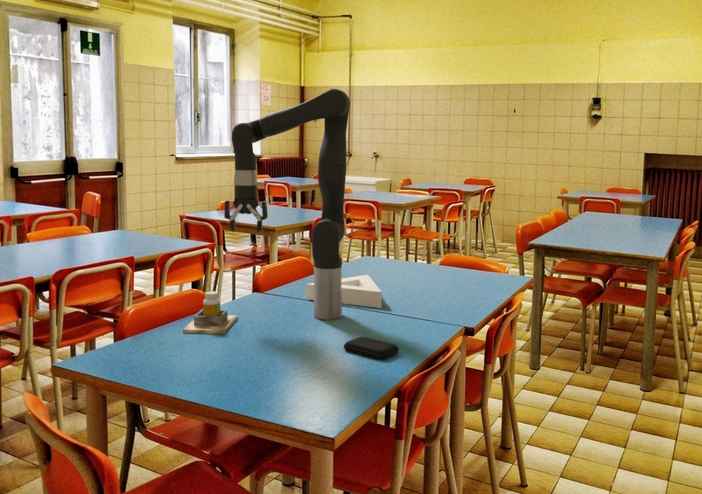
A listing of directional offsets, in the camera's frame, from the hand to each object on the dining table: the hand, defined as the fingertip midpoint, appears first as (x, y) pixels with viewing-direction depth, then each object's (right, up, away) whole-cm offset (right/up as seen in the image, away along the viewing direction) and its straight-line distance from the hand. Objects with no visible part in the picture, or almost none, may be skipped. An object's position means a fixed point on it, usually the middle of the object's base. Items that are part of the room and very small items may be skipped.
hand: (246, 231), depth 233 cm
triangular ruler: (+37, -25, +31) cm, 54 cm away
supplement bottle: (-9, -30, -12) cm, 33 cm away
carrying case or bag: (+41, -36, -35) cm, 65 cm away
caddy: (-9, -30, -12) cm, 34 cm away
